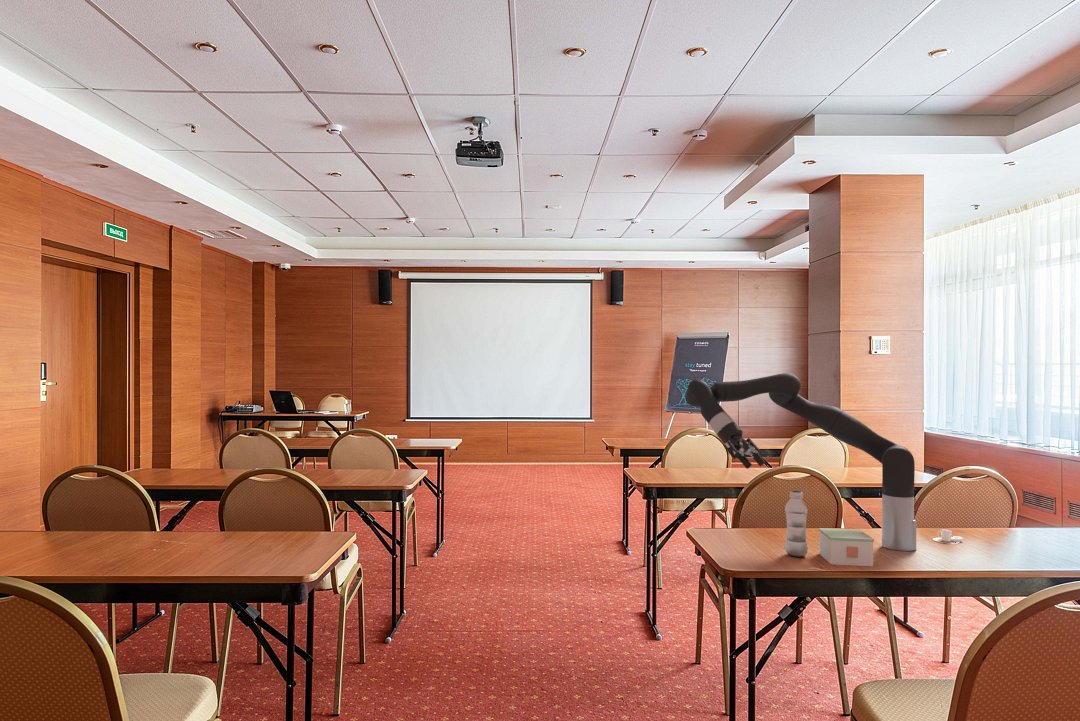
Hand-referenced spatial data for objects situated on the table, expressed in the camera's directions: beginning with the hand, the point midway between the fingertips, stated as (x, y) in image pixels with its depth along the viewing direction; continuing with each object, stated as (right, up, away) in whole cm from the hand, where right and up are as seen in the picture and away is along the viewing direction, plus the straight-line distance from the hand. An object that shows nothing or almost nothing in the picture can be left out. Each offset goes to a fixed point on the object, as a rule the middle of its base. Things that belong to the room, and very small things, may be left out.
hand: (756, 465), depth 219 cm
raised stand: (+23, -27, -14) cm, 38 cm away
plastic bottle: (+9, -27, -10) cm, 30 cm away
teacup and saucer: (+70, -28, +8) cm, 76 cm away
